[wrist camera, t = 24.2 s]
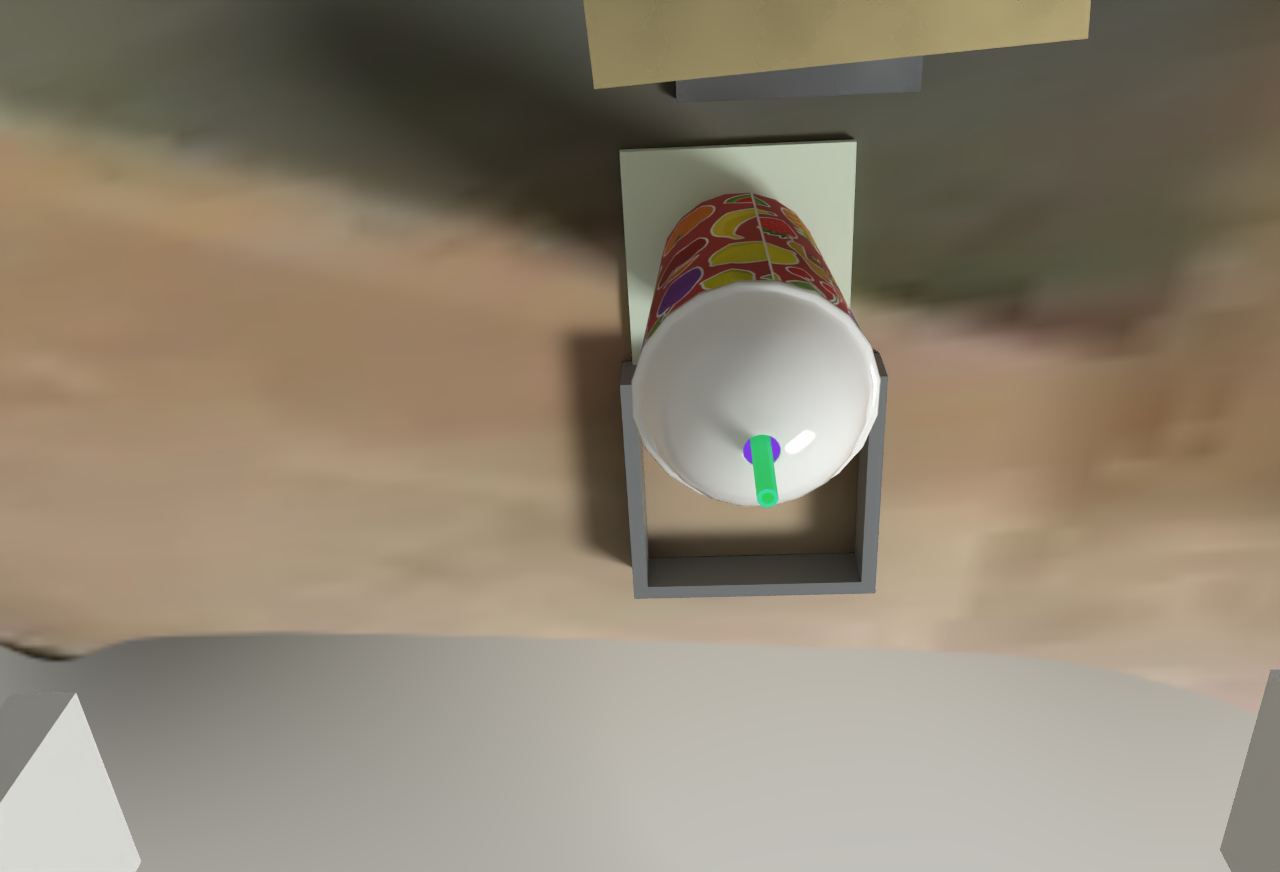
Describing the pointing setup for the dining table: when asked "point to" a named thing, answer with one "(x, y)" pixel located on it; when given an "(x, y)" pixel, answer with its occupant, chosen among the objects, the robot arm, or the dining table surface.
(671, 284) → the smoothie
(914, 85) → the lock plate
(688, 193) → the mat
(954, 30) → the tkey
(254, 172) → the dining table surface
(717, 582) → the socket
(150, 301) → the dining table surface
